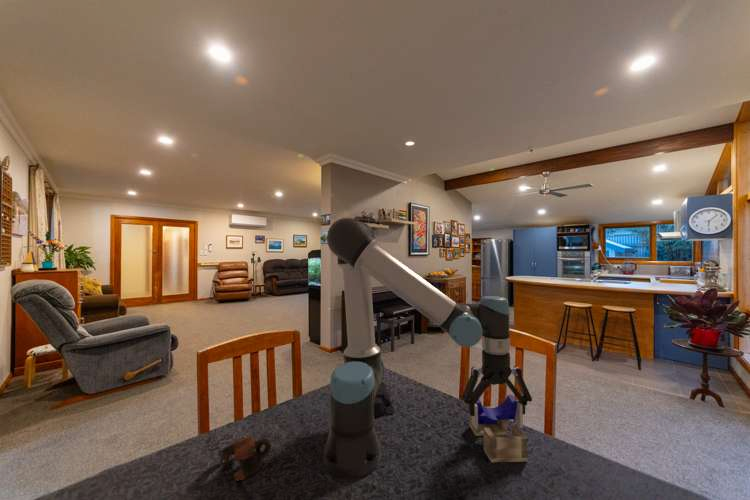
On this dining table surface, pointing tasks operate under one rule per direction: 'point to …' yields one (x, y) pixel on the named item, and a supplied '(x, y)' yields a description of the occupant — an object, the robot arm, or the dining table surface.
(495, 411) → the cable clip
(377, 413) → the dark slate chunk
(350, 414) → the robot arm
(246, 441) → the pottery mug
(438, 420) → the dining table surface
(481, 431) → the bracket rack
